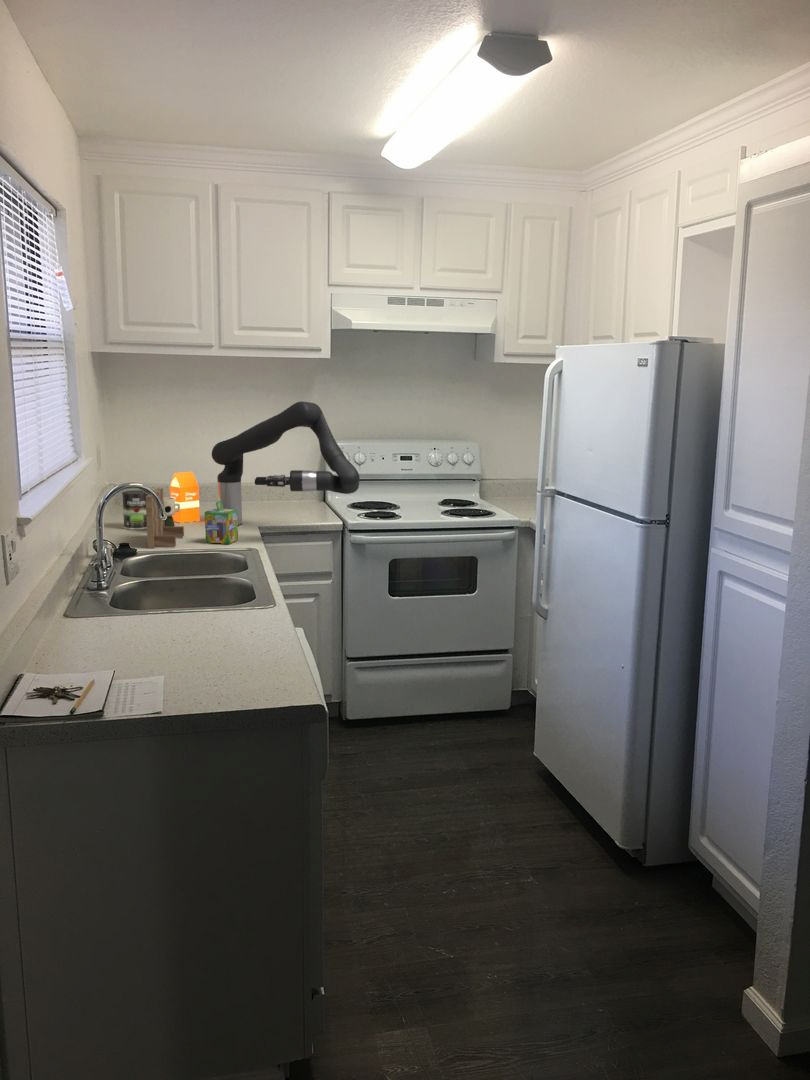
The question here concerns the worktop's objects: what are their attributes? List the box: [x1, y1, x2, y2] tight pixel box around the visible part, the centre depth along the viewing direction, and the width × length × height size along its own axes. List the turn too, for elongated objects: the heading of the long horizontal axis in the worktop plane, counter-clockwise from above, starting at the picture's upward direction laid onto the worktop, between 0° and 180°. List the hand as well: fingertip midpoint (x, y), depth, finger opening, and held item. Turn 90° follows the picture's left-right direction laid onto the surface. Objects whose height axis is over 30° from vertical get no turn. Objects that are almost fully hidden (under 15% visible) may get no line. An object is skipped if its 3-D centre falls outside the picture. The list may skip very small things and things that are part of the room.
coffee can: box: [121, 489, 148, 531], centre depth 337 cm, size 10×10×14 cm
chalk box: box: [204, 500, 239, 545], centre depth 310 cm, size 9×9×15 cm
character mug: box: [164, 496, 180, 527], centre depth 327 cm, size 11×7×13 cm, turn 90°
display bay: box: [146, 487, 185, 549], centre depth 308 cm, size 22×9×18 cm, turn 5°
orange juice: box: [169, 471, 200, 524], centre depth 352 cm, size 8×9×20 cm
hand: (255, 480), depth 308 cm, fingers open, 4 cm apart
